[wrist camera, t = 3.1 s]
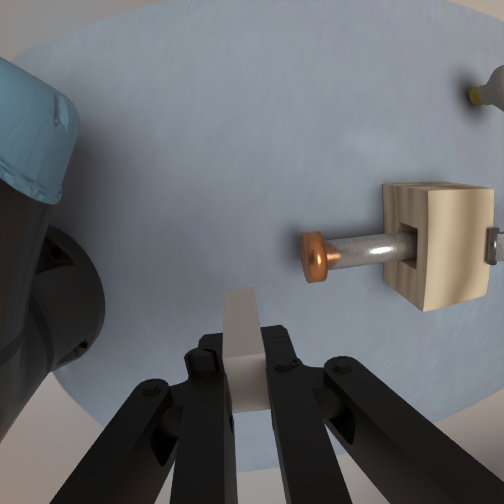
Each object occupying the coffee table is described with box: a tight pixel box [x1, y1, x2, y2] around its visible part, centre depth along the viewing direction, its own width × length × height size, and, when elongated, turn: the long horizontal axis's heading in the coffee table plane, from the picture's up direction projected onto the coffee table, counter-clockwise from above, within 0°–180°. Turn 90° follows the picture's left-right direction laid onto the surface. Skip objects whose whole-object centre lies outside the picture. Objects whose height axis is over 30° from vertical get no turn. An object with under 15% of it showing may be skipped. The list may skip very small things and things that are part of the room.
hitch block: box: [382, 182, 494, 312], centre depth 26 cm, size 8×10×8 cm
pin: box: [300, 230, 418, 283], centre depth 25 cm, size 13×4×4 cm, turn 96°
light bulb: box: [469, 65, 504, 111], centre depth 22 cm, size 5×6×10 cm
